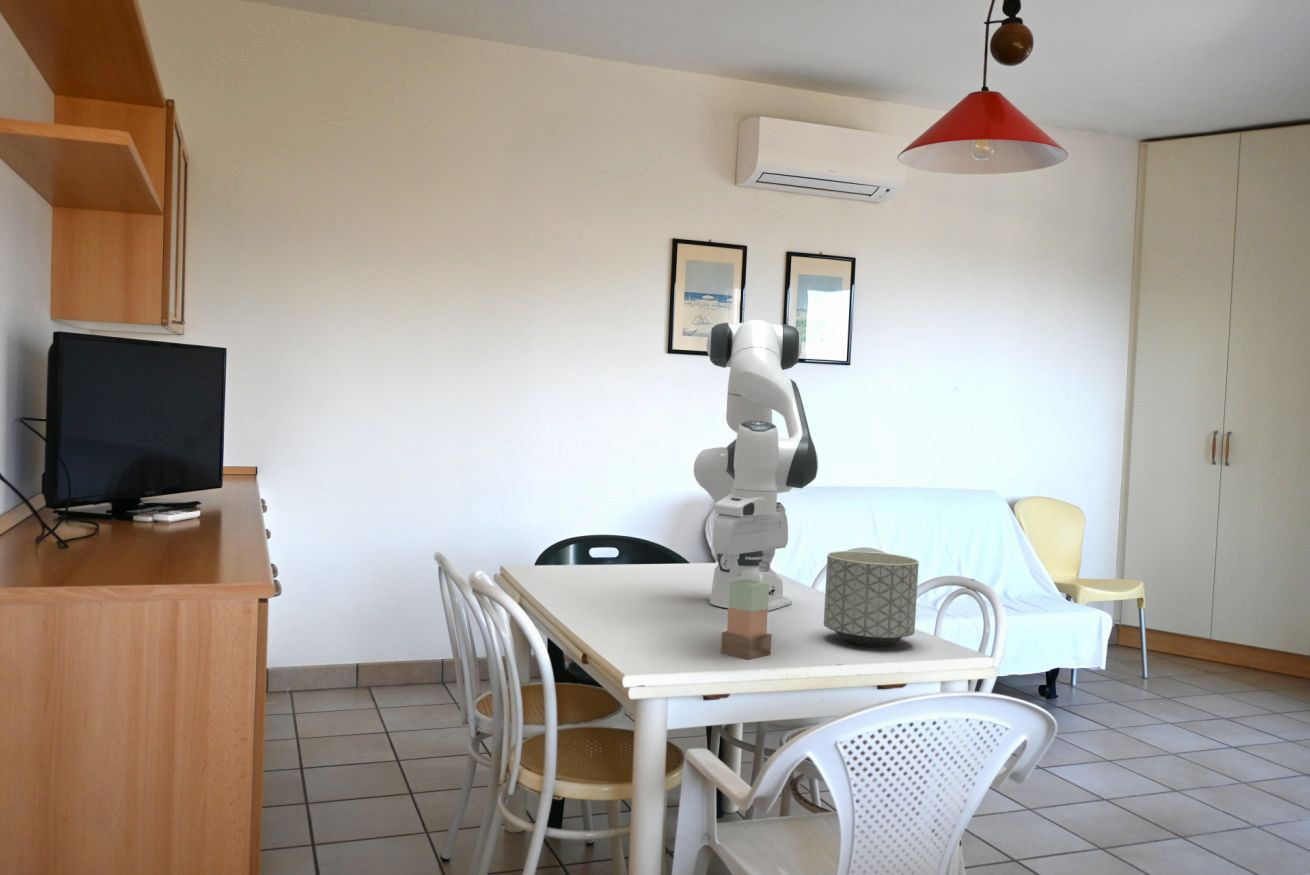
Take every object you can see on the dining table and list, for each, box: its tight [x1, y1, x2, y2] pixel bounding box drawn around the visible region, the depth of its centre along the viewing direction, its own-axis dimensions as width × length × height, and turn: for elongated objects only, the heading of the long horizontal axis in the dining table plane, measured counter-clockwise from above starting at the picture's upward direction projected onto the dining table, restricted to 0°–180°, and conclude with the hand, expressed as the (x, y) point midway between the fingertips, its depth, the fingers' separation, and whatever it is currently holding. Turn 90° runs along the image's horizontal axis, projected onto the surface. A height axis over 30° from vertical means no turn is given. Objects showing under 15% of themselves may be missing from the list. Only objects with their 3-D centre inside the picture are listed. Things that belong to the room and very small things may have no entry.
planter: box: [823, 550, 920, 647], centre depth 213 cm, size 19×19×18 cm
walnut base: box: [720, 630, 773, 660], centre depth 196 cm, size 7×7×4 cm
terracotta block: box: [726, 607, 769, 637], centre depth 196 cm, size 6×6×5 cm
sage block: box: [729, 579, 769, 612], centre depth 196 cm, size 6×6×5 cm
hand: (749, 573), depth 197 cm, fingers open, 8 cm apart
